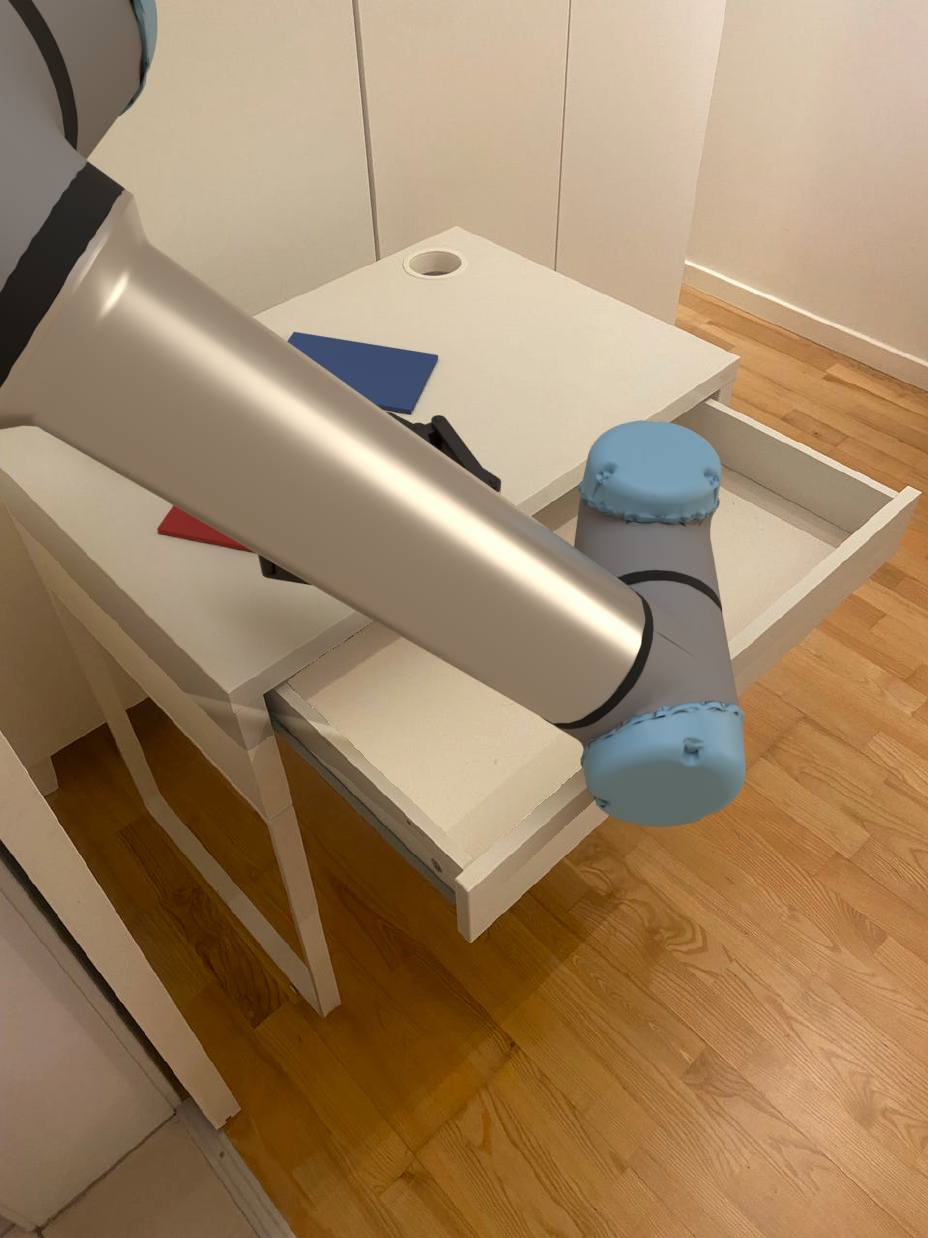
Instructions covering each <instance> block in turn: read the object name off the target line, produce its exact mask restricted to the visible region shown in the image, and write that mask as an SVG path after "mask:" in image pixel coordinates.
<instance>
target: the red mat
mask: <svg viewBox="0 0 928 1238" xmlns="http://www.w3.org/2000/svg"><path fill="white" fill-rule="evenodd" d="M156 530H157V533H158V534H161V535H167V536H171V537H177V538H181V539H186V540H191V541H194V542H195V541H196V542H201V543H206V544H211V545H215V546H220V547H221V546H222V547H225V548H231V549H237V550H240V551H241V550H242V551H246V552H251V553H255V554H257V553H256V552H254V551H252V550H250V549H249V548H247V547H245V546H243V545H242V544H240V543H238V542H236V541H235V540H233V539H231V538H229V537H228V536H226V535H224V534H223V533H221V532H219V531H217V530H216V529H214V528H212V527H210V526H209V525H207V524H205V523H203V522H202V521H200V520H198V519H196V518H195V517H193V516H191V515H190V514H188V513H186V512H184V511H183V510H181V509H179V508H177V507H176V506H174V505H172V507H171V508H170V509H169V510H168V513H167V514H166V515H165V517H164V518H163V520H162V521H161V522H160V524H159V525H158V527H157V529H156Z"/></svg>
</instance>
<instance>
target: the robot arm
mask: <svg viewBox="0 0 928 1238" xmlns="http://www.w3.org/2000/svg"><path fill="white" fill-rule="evenodd" d="M157 38H158V10H157V3H156V0H0V430H7V429H13V428H18V427H35V428H36V427H37V428H38V429H40V430H42V431H43V432H45V433H47V434H49V435H50V436H52V437H54V438H56V439H57V440H60V441H61V442H63V443H65V444H66V445H68V446H70V447H72V448H73V449H75V450H76V451H79V452H80V453H82V454H84V455H85V456H87V457H89V458H91V460H92V459H93V460H94V461H96V462H97V463H99V464H101V465H102V466H105V467H106V468H108V469H110V470H112V471H113V472H115V473H116V474H118V475H120V476H122V477H123V478H125V479H127V480H128V481H131V482H132V483H134V484H135V485H137V486H139V487H141V488H143V489H144V490H145V491H148V492H149V493H151V494H153V495H155V496H157V497H158V498H160V499H162V500H164V501H165V502H167V503H169V504H170V505H172V506H173V505H174V506H176V507H177V508H179V509H181V510H183V511H184V512H186V513H188V514H190V515H191V516H193V517H195V518H196V519H198V520H200V521H202V522H203V523H205V524H207V525H209V526H210V527H212V528H214V529H216V530H217V531H219V532H221V533H223V534H224V535H226V536H228V537H229V538H231V539H233V540H235V541H236V542H238V543H240V544H242V545H243V546H245V547H247V548H249V549H250V550H252V551H254V552H253V553H255V552H256V553H255V554H257V556H258V561H259V566H260V571H261V574H262V576H263V577H264V578H265V579H269V580H270V579H271V580H276V581H281V582H282V581H283V582H288V583H295V584H301V585H308V586H313V587H315V588H316V589H318V590H319V591H322V592H323V593H325V594H326V595H329V596H330V597H332V598H333V599H335V600H337V601H339V602H341V604H344V605H346V606H347V607H349V608H351V609H352V610H355V611H357V612H358V613H359V614H361V615H364V617H367V618H369V619H370V620H371V621H373V622H376V623H377V624H379V625H380V626H382V627H384V628H385V629H387V630H389V631H391V632H392V633H394V634H396V635H398V636H400V637H401V638H403V639H404V640H407V641H409V642H410V643H412V644H414V645H415V646H417V647H418V648H420V649H422V650H424V651H426V652H427V653H429V654H431V655H433V656H435V657H436V658H438V659H439V660H441V661H443V662H444V663H446V664H449V665H450V666H451V667H453V668H455V669H457V670H459V671H461V672H462V673H463V674H465V675H467V676H470V677H471V678H473V679H474V680H476V681H477V682H479V683H481V684H483V685H485V686H486V687H488V688H489V689H492V691H493V690H494V691H495V692H496V693H498V694H500V695H502V696H504V697H506V698H507V699H509V700H511V701H512V702H514V703H515V704H518V705H520V706H521V707H523V708H525V709H527V710H528V711H530V712H532V713H533V714H535V715H537V716H539V717H540V718H541V719H542V720H544V721H545V722H547V723H549V724H550V725H552V726H554V727H555V728H556V729H558V730H560V731H562V732H564V734H566V735H568V736H570V737H572V738H574V739H575V740H577V741H578V742H579V743H580V745H581V746H582V748H583V750H582V754H581V757H580V766H581V768H582V769H583V774H584V781H585V785H586V789H587V791H588V794H589V795H590V796H591V799H592V800H594V802H595V805H596V806H597V807H598V808H599V809H600V810H601V811H602V812H603V813H605V814H607V815H608V816H610V817H612V818H614V819H615V820H617V821H618V820H619V821H621V822H624V823H628V824H631V825H636V826H641V827H650V828H669V827H670V828H671V827H678V826H685V825H689V824H693V823H697V822H700V821H701V820H702V819H704V818H706V817H708V816H710V815H714V814H717V813H719V812H721V811H723V810H724V809H726V808H727V807H728V806H730V805H731V804H732V803H733V802H734V801H735V800H736V799H737V797H738V796H739V794H740V793H741V791H742V790H743V787H744V785H745V781H746V776H747V775H746V774H747V763H746V762H747V761H746V752H745V740H744V739H745V737H744V729H743V728H744V727H743V726H744V724H745V715H744V714H745V713H744V710H743V709H742V708H741V707H740V703H739V698H738V692H737V686H736V682H735V676H734V671H733V664H732V660H731V653H730V648H729V642H728V637H727V636H728V635H727V631H726V625H725V620H724V615H723V605H722V598H721V592H720V586H719V580H718V573H717V567H716V563H715V557H714V551H713V544H712V539H711V526H712V520H713V517H714V515H715V513H716V512H717V510H718V509H719V506H720V504H721V503H720V501H721V500H720V498H719V494H720V488H721V483H722V477H723V468H722V467H723V466H722V462H721V459H720V457H719V454H718V453H717V451H716V449H715V448H714V446H713V445H712V444H711V443H710V442H708V441H707V440H706V439H705V438H704V437H703V436H701V435H700V434H699V433H697V432H695V431H693V430H692V429H689V428H687V427H685V426H682V425H680V424H676V423H672V422H669V421H663V420H660V421H652V420H650V421H647V420H643V419H641V420H640V419H639V420H633V421H628V422H624V423H620V424H617V425H615V426H613V427H610V428H609V429H608V430H606V431H604V432H603V433H602V434H601V435H600V436H599V437H597V439H595V441H594V442H593V443H592V445H591V447H590V448H589V451H588V453H587V458H586V464H585V468H584V473H583V477H582V480H581V481H580V482H579V484H578V488H577V490H578V492H579V502H578V510H577V520H576V529H575V535H574V542H573V545H572V544H570V543H569V542H568V541H567V540H565V539H564V538H563V537H561V536H560V535H558V534H557V533H555V532H554V531H552V529H550V528H548V527H547V526H545V525H544V524H543V523H542V522H540V521H538V520H537V519H536V518H535V517H533V516H532V515H530V514H529V513H527V512H526V511H525V510H523V509H522V508H520V506H518V505H516V504H515V503H513V502H512V501H510V500H509V499H508V498H507V497H505V496H504V495H502V494H501V491H502V479H501V478H500V477H498V476H496V475H495V474H494V473H492V472H491V471H489V470H487V469H485V467H483V466H482V464H481V463H480V462H479V460H478V459H477V458H476V457H475V455H474V454H473V452H472V451H471V450H470V448H469V447H468V446H467V444H466V443H465V442H464V440H463V439H462V437H461V436H460V435H459V433H458V432H457V431H456V429H455V428H454V427H453V426H452V424H451V423H450V421H449V420H448V419H447V418H446V417H445V416H444V415H442V414H437V415H433V416H432V417H431V420H430V422H428V423H425V424H424V423H423V422H414V423H413V422H411V421H410V420H407V419H405V418H404V417H401V416H399V415H397V414H396V413H394V412H392V411H386V410H383V409H381V408H379V407H378V406H376V405H375V404H374V403H372V402H371V401H369V400H368V399H367V398H365V397H364V396H363V395H361V394H360V393H358V392H357V391H356V390H354V389H353V388H351V387H350V386H349V385H347V384H346V383H344V382H343V381H342V380H340V379H339V378H337V377H336V376H335V375H333V374H332V373H330V372H329V371H328V370H326V369H325V368H323V367H322V366H321V365H319V364H318V363H316V362H315V361H314V360H312V359H311V358H309V357H308V356H307V355H305V354H304V353H302V352H301V351H300V350H298V349H297V348H295V347H294V346H293V345H291V344H290V343H289V342H287V341H288V340H286V339H285V338H283V337H282V336H280V335H279V334H277V333H276V332H275V331H273V330H272V329H270V328H269V327H268V326H266V325H265V324H264V323H262V322H261V321H259V320H258V319H256V318H255V317H254V316H252V315H251V314H250V313H249V312H246V311H245V310H244V309H243V308H242V307H240V306H239V305H237V304H235V302H233V301H231V300H230V299H228V298H227V297H226V296H224V295H223V294H222V293H220V292H219V291H218V290H216V289H214V288H213V287H212V286H211V285H209V284H208V283H206V282H205V281H203V280H202V279H200V278H199V277H198V276H197V275H195V274H194V273H193V272H191V271H189V270H188V269H187V268H185V267H184V266H183V265H181V264H179V262H177V261H175V260H174V259H173V258H171V256H169V255H167V254H166V253H165V252H163V251H162V250H160V249H158V247H156V246H154V245H153V244H151V242H150V240H149V238H148V237H147V235H146V233H145V230H144V226H143V224H142V220H141V215H140V212H139V209H138V204H137V201H136V198H135V195H134V194H133V193H132V192H130V191H129V190H128V189H127V188H125V187H124V186H122V185H121V184H120V183H118V182H117V181H116V180H114V179H113V178H111V176H109V175H108V174H106V173H104V171H102V170H100V169H99V168H98V167H96V166H95V165H94V164H92V163H91V162H90V161H89V160H88V158H89V157H90V156H91V155H92V153H93V151H94V150H96V147H97V146H98V145H99V143H101V141H102V139H103V138H104V137H105V136H106V134H107V133H108V132H109V130H110V129H111V128H112V126H113V125H114V123H115V122H116V121H117V119H118V118H120V117H121V116H122V115H124V114H125V113H126V112H127V111H128V110H130V109H131V108H132V107H133V106H134V104H135V103H136V102H137V100H138V99H139V97H140V96H141V95H142V94H143V91H144V89H145V87H146V83H147V77H148V76H147V75H148V72H149V70H150V69H151V65H152V62H153V59H154V57H155V51H156V46H157Z"/></svg>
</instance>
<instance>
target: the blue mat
mask: <svg viewBox="0 0 928 1238" xmlns="http://www.w3.org/2000/svg"><path fill="white" fill-rule="evenodd" d="M286 341H287V342H289V343H290V344H291V345H293V346H294V347H295V348H297V349H298V350H300V351H301V352H302V353H304V354H305V355H307V356H308V357H309V358H311V359H312V360H314V361H315V362H316V363H318V364H319V365H321V366H322V367H323V368H325V369H326V370H328V371H329V372H330V373H332V374H333V375H335V376H336V377H337V378H339V379H340V380H342V381H343V382H344V383H346V384H347V385H349V386H350V387H351V388H353V389H354V390H356V391H357V392H358V393H360V394H361V395H363V396H364V397H365V398H367V399H368V400H369V401H371V402H372V403H374V404H375V405H376V406H378V407H379V408H381V409H382V410H383V411H388V412H396V413H402V414H408V415H412V413H413V410H414V409H415V407H416V405H417V404H418V401H419V400H420V399H419V398H420V397H421V394H422V393H423V390H424V388H425V387H426V385H427V382H428V380H429V378H430V377H431V375H432V372H433V370H434V368H435V366H436V365H437V362H438V360H439V354H434V353H428V352H423V351H417V350H409V349H405V348H398V347H391V346H386V345H385V346H384V345H380V344H375V343H374V344H373V343H367V342H362V341H361V342H360V341H356V340H355V341H354V340H348V339H343V338H342V339H341V338H336V337H329V336H325V335H324V336H323V335H317V334H313V333H311V334H310V333H306V332H298V331H293V332H292V333H291V335H290V336H289V337H288V339H287V340H286Z"/></svg>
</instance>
